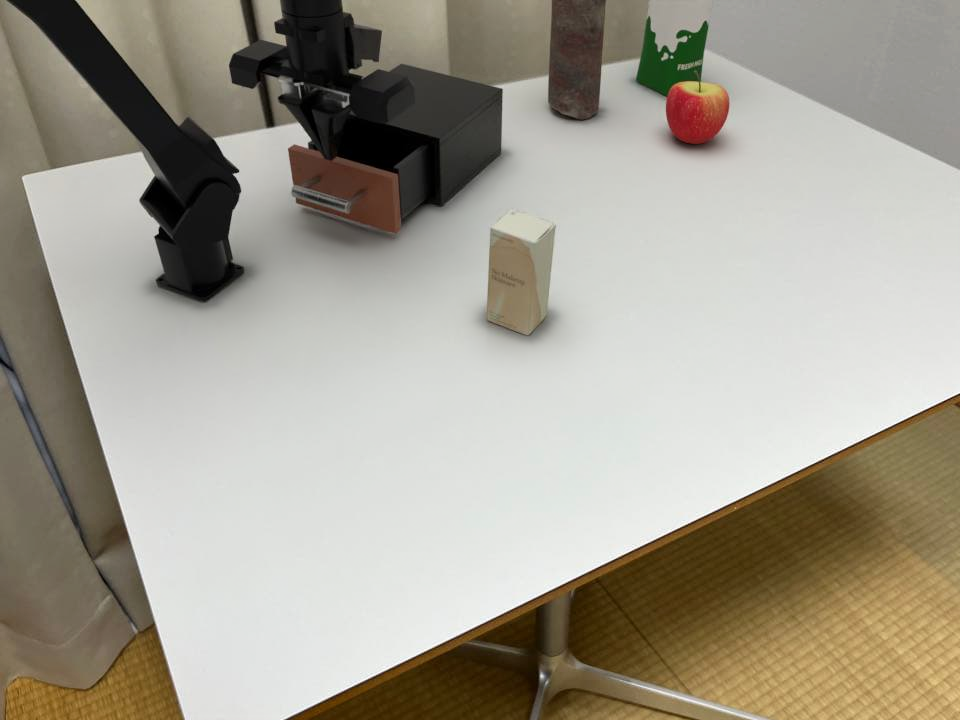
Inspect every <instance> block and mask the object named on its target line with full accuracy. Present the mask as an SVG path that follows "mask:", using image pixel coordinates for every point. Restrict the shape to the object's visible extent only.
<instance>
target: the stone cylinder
mask: <svg viewBox="0 0 960 720" xmlns="http://www.w3.org/2000/svg"><path fill="white" fill-rule="evenodd" d="M606 5H607V0H551V19H550V39H549V59H548V60H549V61H548V81H547V82H548V83H547V84H548V85H547V89H548V90H547V102H548V104H549V105H550V107H551V109H554V110H556V111H557V112H559V113H560V114H562V115H564V116H569V117H571V118H574V119H576V120H587V119H590V118H591V117H593V116H594V115H596V114H597V113H598V112H599V108H600V96H601V83H602V67H603V66H602V64H603V48H604V36H605V35H604V34H605V23H606V22H605V20H606Z"/></svg>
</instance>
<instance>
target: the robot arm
mask: <svg viewBox="0 0 960 720" xmlns="http://www.w3.org/2000/svg"><path fill="white" fill-rule="evenodd" d="M6 1H7V2H8V3H9V4H11V5H12V6H13V7H14V8H15V9H16V10H18V11H19V12H20V13H22V14H23V15H24V16H26V18H28V19H29V20H31V21H32V23H34V25H35V26H36V27H37V28H38V29H39V31H40V32H41V33H42V34H43V35H44V36H45V38H46V39H47V40H48V41H49V42H50V44H52V45H53V47H54V48H55V49H56V50H57V51H58V53H60V55H61V56H62V57H63V58H64V59H65V60H66V61H67V62H68V64H69V65H70V66H71V68H73V70H74V71H75V72H76V73H77V74H78V75H79V76H80V77H81V79H83V80H84V82H85V83H86V84H87V85H88V86H89V87H90V89H91V90H92V91H93V92H94V93H95V94H96V96H98V98H99V99H100V100H101V101H102V102H103V104H104V105H105V106H106V107H107V108H108V110H110V112H111V113H112V114H113V115H114V116H115V117H116V118H117V119H118V121H119V122H120V123H121V124H122V125H123V126H124V127H125V128H126V129H127V130H128V132H129V133H130V135H132V136H133V138H134V139H135V141H136V143H137V144H138V147H139V149H140V151H141V153H142V155H143V158H144V159H145V161H146V163H147V165H148V166H149V168H150V170H151V171H152V173H153V175H154V176H153V177H152V179H151V181H150V182H149V184H148V185H147V186H146V188H145V190H144V191H143V193H142V194H141V196H140V197H139V200H138V201H139V204H140V205H141V206H142V207H143V209H144V210H145V211H146V213H147V214H148V215H149V216H150V217H151V218H152V219H154V220H155V221H156V223H157V224H158V225H159V226H158V230H157V231H158V232H157V234H155V235H154V236H153V239H154V241H155V245H156V248H157V252H158V255H159V259H160V262H161V267H162V269H163V270H162V271H163V273H162V275H161V274H160V276H158V277H157V278H156V279H155V283H156V285H157V286H158V287H162V288H164V289H166V290H169V291H172V292H175V293H178V294H180V295H184V296H187V297H189V298H191V299H194V300H197V301H200V302H206V301H207V302H208V301H209V300H210V299H211V298H213V297H214V296H215V295H216V294H218V293H219V292H221V290H223V289H224V288H226V287H227V286H229V284H231V283H232V282H234V281H235V280H236V279H238V278H239V277H240V276H241V275H243V274H244V273H245V271H246V270H245V266H243V265H241V264H238V263H236V262H235V263H234V262H232V261H234V257H233V252H232V249H231V248H232V247H231V244H230V239H229V235H230V230H231V224H232V217H233V212H234V210H235V209H236V207H237V205H238V203H239V200H240V195H241V193H242V188H241V184H240V182H239V181H238V177H237V176H235V174H239V173H240V169H239V168H238V167H237V166H236V165H234V164H233V163H232V162H231V161H230V160H229V159H228V158H227V157H226V156H225V155H224V153H223V151H222V150H221V147H220V146H219V144H218V143H217V141H216V140H215V139H214V138H213V137H212V136H211V135H210V134H209V133H207V132H206V131H205V130H204V129H203V127H201V126H200V125H199V124H198V123H197V122H195V120H193V119H192V118H191V117H190V116H187V117H186V118H185V119H184V120H183V121H182V123H180V124H177V123H176V122H175V120H173V118H172V117H171V116H170V114H169V113H168V111H166V110H165V108H164V107H163V106H162V104H161V103H160V102H159V101H158V100H157V98H156V97H155V96H154V95H153V93H151V91H150V90H149V88H148V87H147V86H146V85H145V84H144V83H143V81H142V80H141V79H140V77H138V75H137V74H136V73H135V71H134V70H133V68H131V67H130V65H129V64H128V63H127V61H126V60H125V59H124V58H123V56H121V54H120V53H119V51H117V49H116V48H115V47H114V45H113V44H112V43H111V42H110V41H109V40H108V38H107V37H106V35H104V34H103V32H102V31H101V30H100V28H99V27H98V26H97V25H96V23H95V22H94V21H93V19H92V18H91V17H90V16H89V15H88V14H87V12H86V11H85V10H84V8H82V6H81V5H80V4H79V3H78V1H77V0H6ZM279 4H280V10H281V17H282V18H279V19H277V20H276V21H273V25H274V26H273V27H274V31H275V34H278V35H282V36H284V39H285V44H284V45H283V44H279V43H276V42H272V41H268V40H264V39H259V40H256V42H253V43H252V44H250V45H248V46H246V47H244V48H242V49H239V50H238V51H235V52H233V53H232V55H231V57H230V60H229V63H228V67H229V68H228V69H229V74H230V80H231V83H232V84H233V85H237V86H239V87H243V88H247V89H251V90H254V89H256V88H257V87H258V86H259V85H260V84H261V83H262V78H261V75H264V76H269V77H273V78H276V79H277V82H278V83H280V88H281V94H280V95H279V96H277V101H278V103H279V104H281V105H283V106H285V107H286V109H287V110H288V111H289V112H290V114H292V116H293V118H294V119H295V120H296V121H297V122H298V123H299V125H300V126H301V127H302V129H303V130H304V131H305V133H306V134H307V136H308V137H309V138H310V141H311V140H312V141H313V143H314V144H315V146H316V147H317V149H318V150H319V152H320V153H321V154H322V156H323V157H324V159H326V160H330V161H332V160H333V159H335V158H336V156H337V153H338V149H339V145H340V142H341V138H342V134H343V130H344V127H345V123H346V121H347V118H348V116H349V113H350V111H351V110H352V111H353V113H354V114H355V115H356V116H357V118H361V119H365V120H368V121H372V122H376V123H388V122H389V121H391V120H392V119H394V118H395V117H396V116H398V115H399V114H401V113H402V112H403V111H405V110H406V109H408V108H409V107H410V106H412V105H413V104H415V90H414V85H413V83H412V81H411V80H410V79H409V78H408V77H407V76H404V75H400V74H396V73H392V72H389V71H388V70H383V69H379V68H377V69H375V70H374V71H373V72H371V73H369V74H368V75H366V76H363V75H360V74H355V73H352V72H350V71H351V70H358V69H360V68H361V67H363V61H372V62H373V63H379V62H380V55H381V53H380V52H381V44H382V35H383V30H382V29H378V28H374V27H370V26H367V25H363V24H357V23H355V19H354V17H353V14H352V13H350V12H345V11H344V7H343V0H279Z"/></svg>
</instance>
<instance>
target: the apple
mask: <svg viewBox="0 0 960 720" xmlns="http://www.w3.org/2000/svg"><path fill="white" fill-rule="evenodd" d="M694 72H695V74H696V75H697V77H698V80H699V82H696V81H685V82H679V83H677V84H675V85H673V86H672V88H671V89H670V91H669V93H668V96H666V101H665V116H666V121H667V125H668V127H669V129H670V131H671V133H672V134H673V136H674V137H675V138H676V139H678V140H679V141H681V142H683V143H687V144H691V145H699V144H703V143H707V142H709V141H710V140H712V139H713V138H714V137H716V136H717V135H718V133H720V131H721V130H722V128H723V127H724V125H725V123H726V121H727V119H728V115H729V112H730V96H729V93H728V91H727V90H726V89H725V87H723V86H722V85H719V84H717V83H714V82H713V83H712V82H707V81H706V82H705V81H701V82H700V78H699V75H698V73H697V71H696V70H695V71H694Z"/></svg>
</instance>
